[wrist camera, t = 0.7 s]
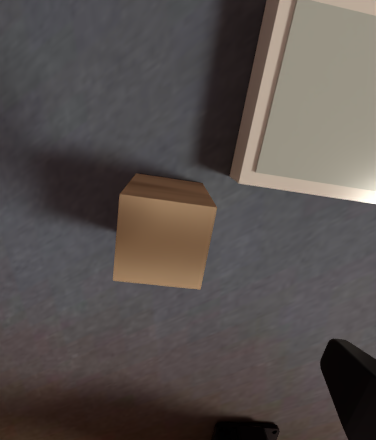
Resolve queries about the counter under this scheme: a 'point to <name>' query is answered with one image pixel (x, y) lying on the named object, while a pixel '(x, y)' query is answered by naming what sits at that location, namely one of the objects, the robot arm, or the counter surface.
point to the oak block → (163, 232)
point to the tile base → (312, 101)
